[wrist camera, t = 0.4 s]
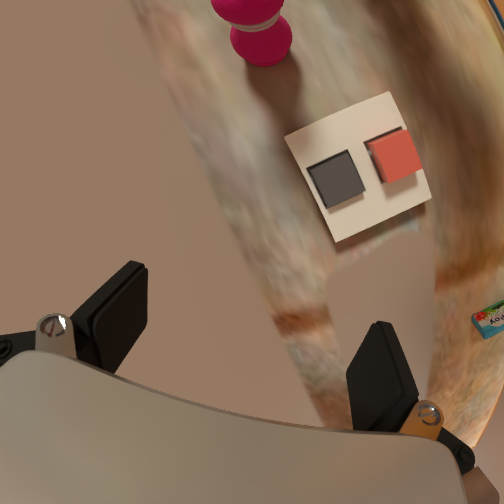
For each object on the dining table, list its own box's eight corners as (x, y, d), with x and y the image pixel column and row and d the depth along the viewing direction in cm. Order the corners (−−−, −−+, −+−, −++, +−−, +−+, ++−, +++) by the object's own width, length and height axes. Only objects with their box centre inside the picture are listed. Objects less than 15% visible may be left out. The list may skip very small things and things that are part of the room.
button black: (344, 152, 33) (347, 153, 31) (360, 187, 35) (364, 191, 32) (309, 168, 35) (310, 170, 32) (326, 203, 36) (328, 207, 34)
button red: (400, 129, 30) (407, 129, 27) (414, 165, 31) (422, 168, 29) (367, 143, 31) (372, 144, 29) (383, 180, 32) (389, 183, 30)
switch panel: (382, 94, 31) (389, 91, 28) (423, 193, 35) (431, 197, 32) (283, 137, 35) (283, 137, 32) (332, 234, 39) (335, 242, 37)
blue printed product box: (471, 320, 42) (484, 339, 36) (471, 315, 41) (485, 334, 36) (512, 299, 39) (527, 315, 33) (513, 294, 38) (529, 309, 33)
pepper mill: (281, 77, 32) (270, 19, 14) (229, 61, 32) (172, 2, 13) (299, 33, 29) (305, -48, 11) (248, 19, 29) (211, -62, 10)
